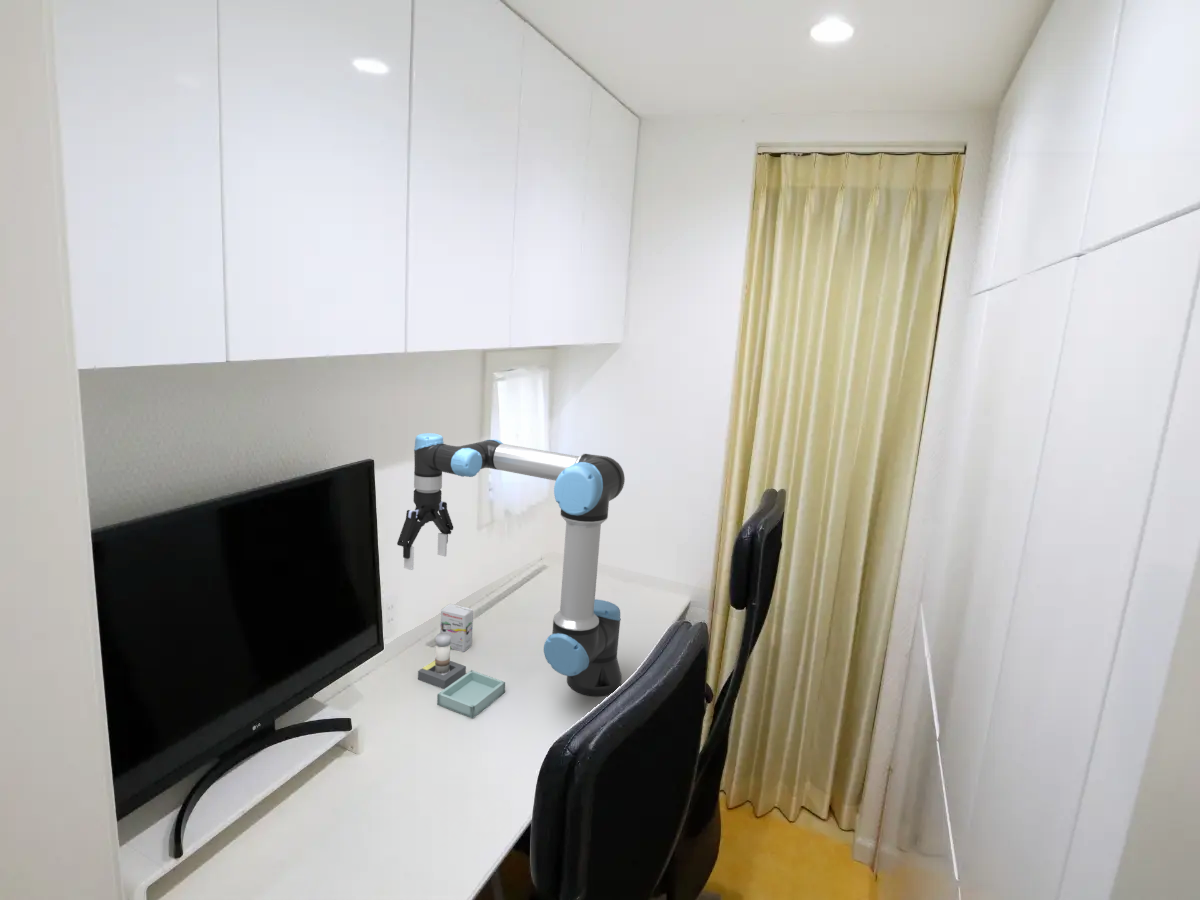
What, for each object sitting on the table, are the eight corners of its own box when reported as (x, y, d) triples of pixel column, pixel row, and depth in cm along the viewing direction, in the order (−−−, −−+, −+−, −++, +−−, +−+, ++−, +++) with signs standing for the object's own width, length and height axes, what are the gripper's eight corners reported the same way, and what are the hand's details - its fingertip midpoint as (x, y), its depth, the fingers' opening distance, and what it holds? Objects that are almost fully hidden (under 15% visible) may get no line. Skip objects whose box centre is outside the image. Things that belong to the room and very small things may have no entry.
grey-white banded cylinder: (452, 675, 182) (453, 635, 179) (443, 682, 178) (444, 641, 176) (441, 671, 183) (442, 631, 181) (431, 678, 180) (432, 637, 177)
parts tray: (504, 692, 175) (505, 681, 175) (472, 718, 163) (472, 707, 162) (471, 680, 180) (471, 670, 180) (437, 704, 168) (437, 693, 167)
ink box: (438, 646, 197) (439, 609, 195) (447, 639, 202) (448, 603, 200) (464, 652, 195) (465, 615, 192) (472, 645, 199) (473, 608, 197)
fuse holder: (465, 674, 183) (465, 665, 182) (444, 689, 175) (444, 680, 174) (439, 665, 187) (440, 656, 186) (417, 679, 179) (418, 670, 178)
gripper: (447, 479, 196) (444, 547, 200) (384, 495, 174) (383, 571, 178) (467, 483, 193) (464, 552, 197) (405, 500, 171) (404, 578, 175)
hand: (425, 561), depth 188 cm, fingers open, 13 cm apart
